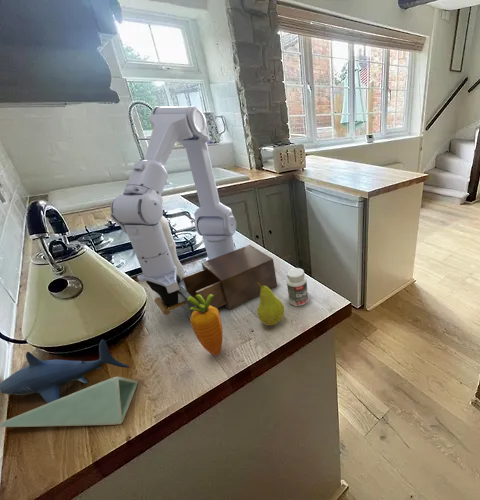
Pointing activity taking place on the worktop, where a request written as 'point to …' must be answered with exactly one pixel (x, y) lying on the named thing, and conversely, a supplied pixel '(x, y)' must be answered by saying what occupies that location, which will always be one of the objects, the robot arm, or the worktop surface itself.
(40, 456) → the worktop surface
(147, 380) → the worktop surface
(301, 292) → the pill bottle
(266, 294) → the fruit
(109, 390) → the hollow green wedge
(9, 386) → the toy
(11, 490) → the worktop surface
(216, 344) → the carrot
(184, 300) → the drawer
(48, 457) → the worktop surface
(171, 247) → the water bottle
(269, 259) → the cabinet
